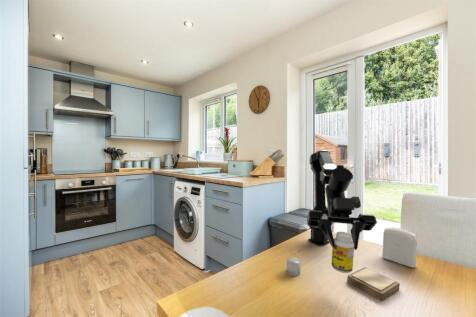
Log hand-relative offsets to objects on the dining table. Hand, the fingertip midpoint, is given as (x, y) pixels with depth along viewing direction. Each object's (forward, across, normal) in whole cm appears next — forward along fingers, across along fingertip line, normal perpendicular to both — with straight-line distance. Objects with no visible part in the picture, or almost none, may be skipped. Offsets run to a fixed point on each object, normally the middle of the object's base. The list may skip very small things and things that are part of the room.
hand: (344, 248), depth 62 cm
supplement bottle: (+4, 0, +6) cm, 7 cm away
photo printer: (-7, +26, +27) cm, 38 cm away
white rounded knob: (+4, -13, +15) cm, 20 cm away
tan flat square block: (+5, +10, +14) cm, 18 cm away
